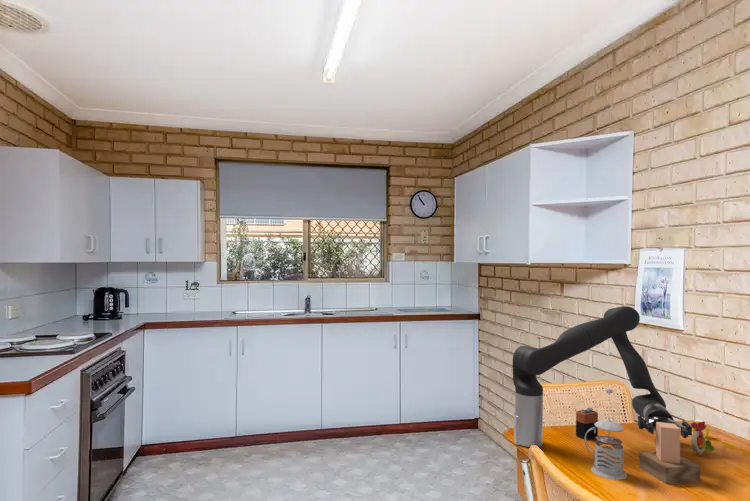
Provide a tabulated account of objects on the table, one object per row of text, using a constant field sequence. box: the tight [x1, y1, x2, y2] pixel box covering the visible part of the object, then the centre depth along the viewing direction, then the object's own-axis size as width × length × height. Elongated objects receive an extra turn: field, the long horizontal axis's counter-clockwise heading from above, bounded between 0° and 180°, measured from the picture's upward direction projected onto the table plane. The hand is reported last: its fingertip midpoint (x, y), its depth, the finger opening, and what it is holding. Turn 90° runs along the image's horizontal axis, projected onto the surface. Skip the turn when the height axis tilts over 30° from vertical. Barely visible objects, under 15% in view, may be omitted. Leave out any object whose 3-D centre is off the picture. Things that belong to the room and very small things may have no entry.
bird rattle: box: [689, 421, 716, 456], centre depth 160 cm, size 6×11×9 cm
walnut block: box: [638, 451, 701, 485], centre depth 143 cm, size 11×11×5 cm
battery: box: [575, 407, 599, 440], centre depth 174 cm, size 4×7×10 cm, turn 115°
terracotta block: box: [655, 422, 681, 464], centre depth 143 cm, size 5×5×10 cm
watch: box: [689, 419, 710, 438], centre depth 177 cm, size 6×3×6 cm, turn 25°
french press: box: [584, 388, 628, 481], centre depth 144 cm, size 10×12×25 cm
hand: (668, 432), depth 143 cm, fingers open, 8 cm apart
